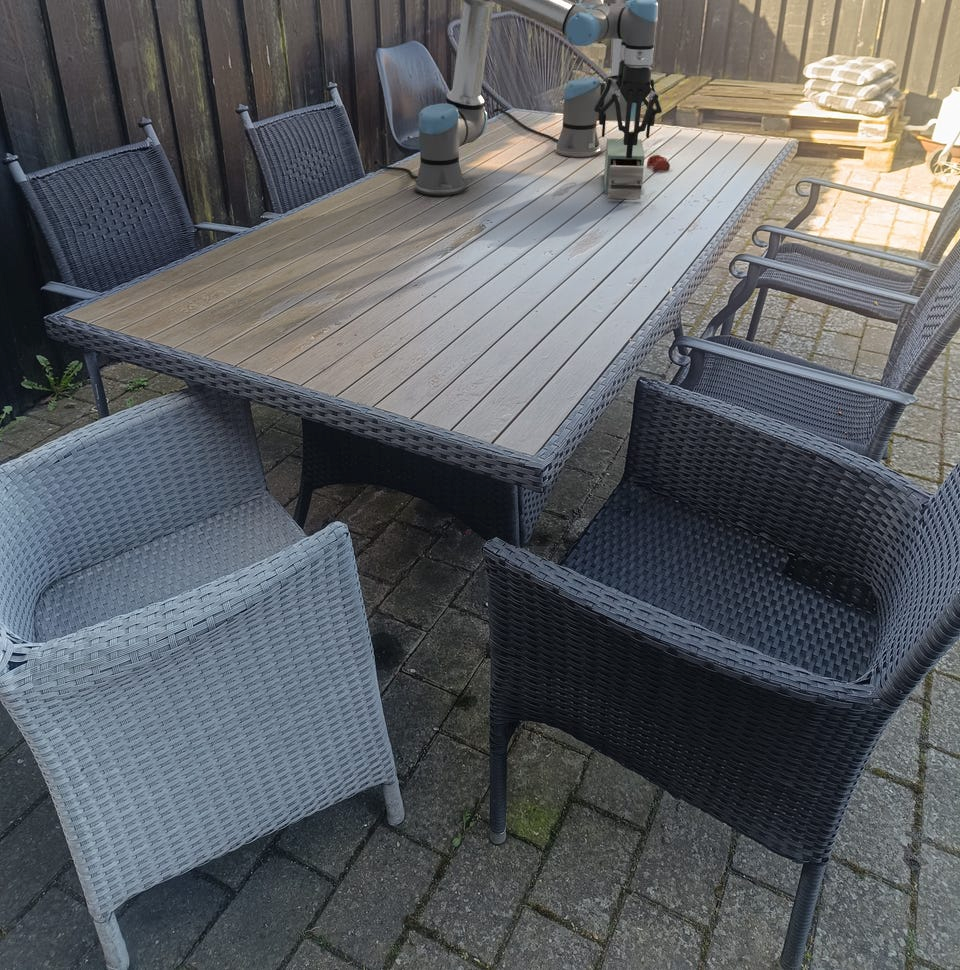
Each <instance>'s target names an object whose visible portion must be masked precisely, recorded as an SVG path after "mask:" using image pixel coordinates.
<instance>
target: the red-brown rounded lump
mask: <svg viewBox="0 0 960 970" xmlns="http://www.w3.org/2000/svg"><path fill="white" fill-rule="evenodd" d="M670 166H671V165H670V163H669V161H668V158H667V157H665V156H661V154H653V155H651V156H649V157H648V159H647V162H646V167H647V168H649V167H652V171H653V172H662V171H669V170H670V169H671V168H670Z"/></svg>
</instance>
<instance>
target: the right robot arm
mask: <svg viewBox="0 0 960 970" xmlns="http://www.w3.org/2000/svg"><path fill="white" fill-rule="evenodd" d="M629 2H630V0H615V3H604V0H578V3H575V4H576V5H579V6H581V7H583V8H587V7H588V6H590V5H603V6H616V7H628V6H629ZM625 46H626V39H613V40H612V53H611V54H612V55H611V57H612V58H611V68H610V69H611V71H610V73H608V75H607V76H606V77H605V82H601V79H600V78H599V77H592V76H591V77H590V76H589V77H581V78H575V79H572V80H570V81H568V82H567V83H566V84H565V87H564V93H563V94H564V95H563V112H562V128H561V131H560V135H559V136H558V138H556V137H554V136H552V135H550V134H547V133H544V132H541V131H538V130H535V129H533V128H531V127H528V126H527V125H525V124H524V123H522V122H520V121H519V119H517V118H516V117H515V116H514V115H512V114H511V113H509V112H508V111H505V110H504V109H502V108H499V107H498V108H495V109H494V110H493V113H496V112H501V113H502V114H505V115H507V116H508V117H509V118H511V119H512V120H513V121H514V122H516V123H517V124H518V125H519V126H521V128H523V129H525V130H527V131H529V132H531V133H534V134H536V135H539V136H542V137H545V138H547V139H549V140H552V141H553V142H555V143H556V146H555V152H556V153H557V154H558V155H561V156H562V157H563V156H564V157H570V158H590V157H596V156H598V155H599V154H600V153H601V143H600V140H599V135H598V131H597V124H599V125H600V126H602V127H601V129H602V130H601V138H605V134H606V122H617V114H616V107H615V102H614V100H613V99H612V93H613V92H616V91H618V90H619V89H620V86H621V84H622V79H623V68H624V66H625V65H626V64H625V63H624V57H625ZM650 85H651V88H652V91H653V92H655V93H657V92H656V90H655V81H654V78H652V77H651V81H650ZM649 101H650V100H649V98H647V97H646V99H645V100H644V101H643V102H642V104H641V108H642V106H643V103H644V105H645V107H646V108H647V106H648V103H649ZM619 103H620V111H621V118H622V123H625V119H626V108H627V102H626V100H625V99H624V97H623V95H622V94H620V99H619ZM654 106H655V108H654V107H653V108H652V111H651V114H650V117H649V120H648V123H647V126H646V130H645V131H646V132H645V138H646V139H650V132H651V127H654V126H655V120H656V115H658V114H661V113H662V111H663V110H662V107H661V104H660V100H659V98H658V99H657V101H656V102H655V103H654ZM635 112H636V103H632V108H631V118H630V122H635ZM597 122H598V123H597Z"/></svg>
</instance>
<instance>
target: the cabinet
mask: <svg viewBox="0 0 960 970" xmlns="http://www.w3.org/2000/svg"><path fill="white" fill-rule="evenodd" d="M623 141H624V138H606V144H605V145H606V147H605V159H604V168H603V169H604V170H603V182H604V183H603V184H604V194H608V187H609V175H610V165H611V159H639V162H640V166H644V167H645V158H646V156H645V151H644V146H643V141H642V139H639V138H638V141H637V145H633V150H632V158H626V151H627V145H624V143H623Z"/></svg>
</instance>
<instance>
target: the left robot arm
mask: <svg viewBox="0 0 960 970" xmlns="http://www.w3.org/2000/svg"><path fill="white" fill-rule="evenodd" d="M462 1H463V2H462V9H461V19H460V27H459V33H458V42H457V50H456V57H455V65H454V74H453V82H452V89H451V90H450V91H448V92H447V93H446V96H445V97H446V98H445V103H436V104H429V105H428V106H425V107H424V108H422V109H421V110H420V112H419V114H418V122H417V123H418V126H417V127H418V136H419V138H418V139H419V157H420V158H419V159H420V161H419V162H420V164H419V168H418V172H417V175H414V174H413V171H411V170H410V169H408V168H406V167H399V166H386V165H383V164H381V162H380V160H379V159H375V160H374V162H373V164H375V165H377V166H378V167H379V168H380V169H384V170H391V171H392V170H393V171H402V172H407V173H408V174H409V176H410V177H411V178H412V179H414V180H415V179H416V180H415V183H414V184H415V185H414V186H415V192H417V193H418V194H420V195H424V196H430V197H450V196H455V195H459V194H461V193H463V192H464V191H466V181H465V179H464V176H463V172H462V169H461V165H460V147H463V146H464V145H467V144H470V143H474V142H475V141H476V140H478V139H479V138H481V137H482V135H483V134H484V133H485V131H486V129H487V126H488V119H489V118H488V112H487V111H486V108H485V98H484V97H483V96H482V86H483V79H484V74H485V66H486V59H487V53H488V46H489V39H490V31H491V24H492V17H493V10H494V7H495V6H496V5H499V6H501V7H502V8H505V9H507V10H509V11H511V12H513V13H515V14H517V15H519V16H522V17H524V18H526V19H528V20H531V21H533V22H535V23H537V24H539V25H541V26H543V27H546V28H547V29H551V30H552V31H554V32H557V33H558V34H561V35H563V36H564V37H567V39H568V40H569V41H568V42H570V43H571V44H572V45H573V46H576V47H587V46H591V45H593V44H595V43H597V42H600V41H603V40H606V39H611V40H612V39H626V46H625V57H624V63H625V64H626V65H625V66H624V68H623V79H622V84H621V86H620V89H619V90H618V91H616V92H613V93H612V99H613V100H614V102H615V107H616V114H617V121H616V122H617V129H618V131H620V132H622V133H623V139H624V141H623V143H624V145H627V151H626V158H632V150H633V145H637V141H638V139H639V134H640V133H641V132H645V131H646V130H647V123H648V120H649V117H650V114H651V111H652V108H654V106H655V102H656V101H657V99H658V100H659V94H658V92H656V91H655V92H656V93H655V92H653V91H652V88H651V85H650V81H651V78H652V70H653V68H652V66H651V65H653V60H654V51H655V50H654V49H655V41H656V34H657V25H658V20H659V19H658V14H659V13H658V12H659V3H658V1H657V0H630V2H629V6H628V7H616V6H603V5H590V6H588V7H587V8H583V7H581V6H579V5H576V4H577V3H575V2H573V1H570V0H462ZM620 94H622V95H623V97H624V99H625V100H626V102H627V108H626V119H625V122H624V125H623V121H622V118H621V111H620V103H619V99H620ZM647 97H648V101H649V103H648V106H647V107H646V109H645V113H644V115H643V117H642V121H641V111H642V107H641V104H642V105H643V103H644V102H643V101H644V100H645V99H646V98H647ZM642 102H643V103H642ZM632 103H636V112H635V121H634V123H633V124H634V125H633V131H630V127H631V121H630V118H631V108H632ZM640 121H641V124H640Z"/></svg>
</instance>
